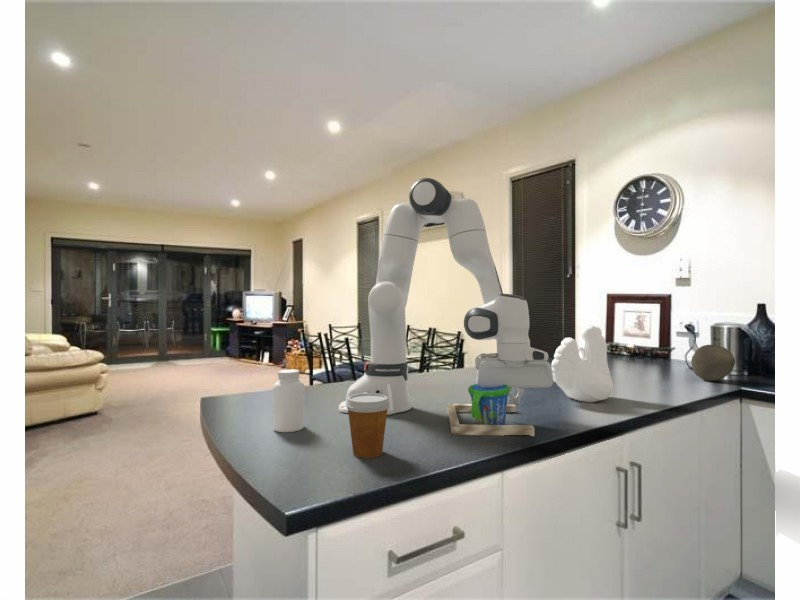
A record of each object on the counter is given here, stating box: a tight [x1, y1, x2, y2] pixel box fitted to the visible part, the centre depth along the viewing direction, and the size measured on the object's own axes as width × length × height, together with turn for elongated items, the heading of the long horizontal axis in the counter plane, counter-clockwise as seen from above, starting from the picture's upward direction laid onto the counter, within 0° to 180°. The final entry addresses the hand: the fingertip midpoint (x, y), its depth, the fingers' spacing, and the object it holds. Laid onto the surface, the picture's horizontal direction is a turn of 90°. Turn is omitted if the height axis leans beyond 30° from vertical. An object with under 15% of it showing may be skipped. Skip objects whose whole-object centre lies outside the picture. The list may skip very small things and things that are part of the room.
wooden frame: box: [446, 403, 535, 437], centre depth 116 cm, size 20×24×2 cm
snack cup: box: [467, 383, 510, 425], centre depth 113 cm, size 16×10×10 cm
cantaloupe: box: [690, 344, 736, 382], centre depth 176 cm, size 14×14×15 cm
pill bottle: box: [272, 368, 306, 433], centre depth 110 cm, size 8×8×15 cm
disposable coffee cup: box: [346, 394, 390, 459], centre depth 92 cm, size 10×10×12 cm
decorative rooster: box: [550, 325, 614, 403], centre depth 142 cm, size 25×16×25 cm, turn 109°
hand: (514, 403), depth 116 cm, fingers closed
